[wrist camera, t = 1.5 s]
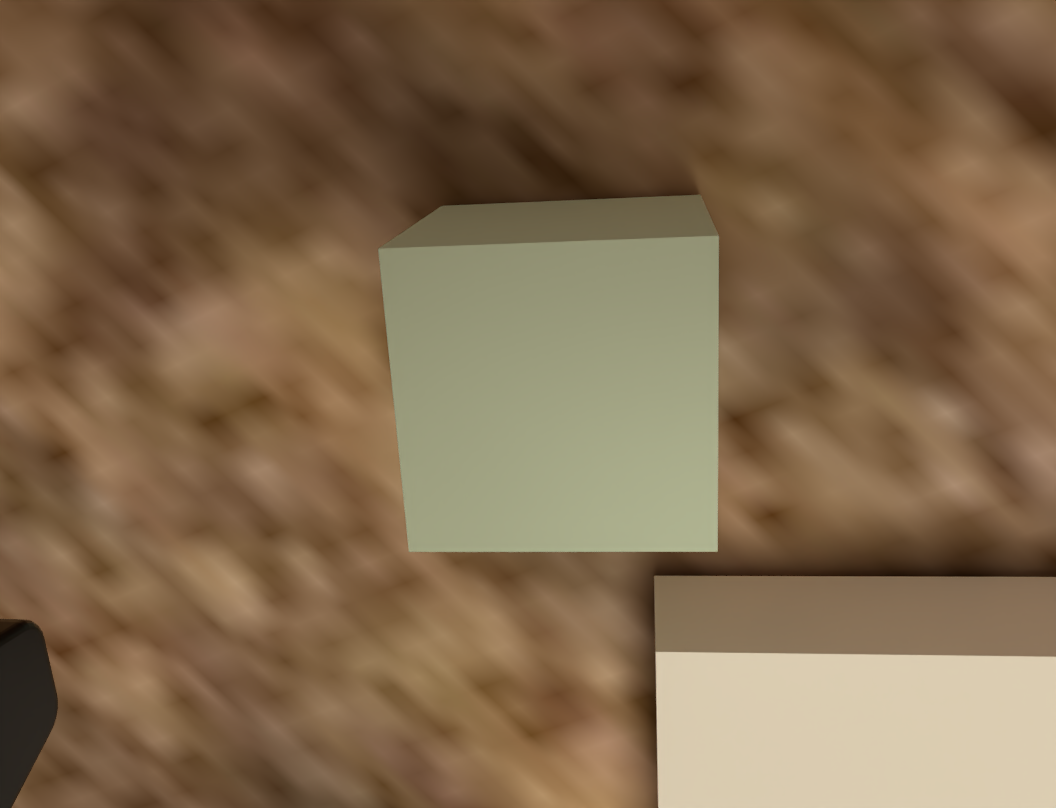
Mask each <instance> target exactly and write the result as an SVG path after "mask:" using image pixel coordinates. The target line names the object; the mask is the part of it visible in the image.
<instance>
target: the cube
mask: <svg viewBox="0 0 1056 808" xmlns="http://www.w3.org/2000/svg"><path fill="white" fill-rule="evenodd" d="M378 253H379V262H380V272H381V282H382V292H383V302H384V312H385V321H386V331H387V341H388V351H389V361H390V371H391V380H392V390H393V400H394V410H395V420H396V430H397V439H398V449H399V459H400V469H401V479H402V488H403V498H404V508H405V518H406V528H407V538H408V547H409V552H718V324H719V235H718V233H717V231H716V228H715V226H714V224H713V222H712V219H711V217H710V215H709V213H708V210H707V208H706V206H705V204H704V201H703V199H702V197H701V195H681V196H658V197H635V198H611V199H588V200H565V201H542V202H518V203H495V204H472V205H449V206H441V207H439V208H438V209H436V210H435V211H433V212H432V213H430V214H429V215H427V216H426V217H424V218H423V219H421V220H420V221H419V222H417V223H416V224H414V225H413V226H411V227H410V228H408V229H407V230H405V231H404V232H402V233H401V234H399V235H398V236H396V237H395V238H393V239H392V240H390V241H389V242H387V243H386V244H384V245H383V246H381V247H380V248H378Z"/></svg>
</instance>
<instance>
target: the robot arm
mask: <svg viewBox="0 0 1056 808" xmlns="http://www.w3.org/2000/svg"><path fill="white" fill-rule="evenodd" d="M57 709H58V699H57V693H56V688H55V684H54V680H53V675H52V671H51V666H50V662H49V657H48V653H47V648H46V644H45V639H44V636H43V633H42V631H41V629H40V628H39V626H38V625H37V624H35V623H34V622H32V621H29V620H17V619H0V808H12V806H13V804H14V802H15V800H16V798H17V796H18V794H19V792H20V790H21V788H22V786H23V784H24V782H25V781H26V779H27V777H28V775H29V773H30V771H31V769H32V767H33V765H34V763H35V761H36V759H37V757H38V755H39V754H40V752H41V750H42V748H43V746H44V744H45V742H46V740H47V738H48V736H49V734H50V732H51V730H52V728H53V726H54V723H55V719H56V715H57Z"/></svg>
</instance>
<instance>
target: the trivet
mask: <svg viewBox="0 0 1056 808" xmlns="http://www.w3.org/2000/svg"><path fill="white" fill-rule="evenodd" d="M654 604H655V664H656V723H657V782H658V808H1056V577H907V576H654Z"/></svg>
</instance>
